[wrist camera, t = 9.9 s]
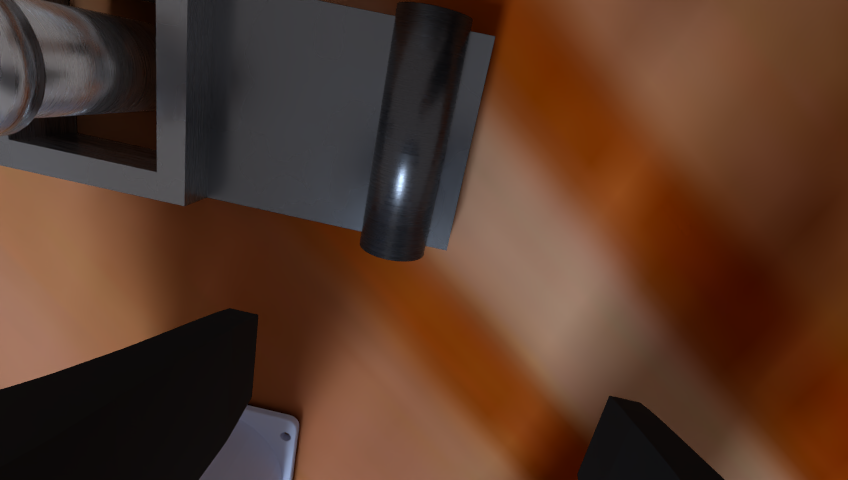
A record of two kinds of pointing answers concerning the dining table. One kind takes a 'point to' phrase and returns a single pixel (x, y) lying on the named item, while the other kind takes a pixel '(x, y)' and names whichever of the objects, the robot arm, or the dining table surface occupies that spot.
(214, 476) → the robot arm
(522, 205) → the dining table surface
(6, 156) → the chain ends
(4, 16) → the steel pin
